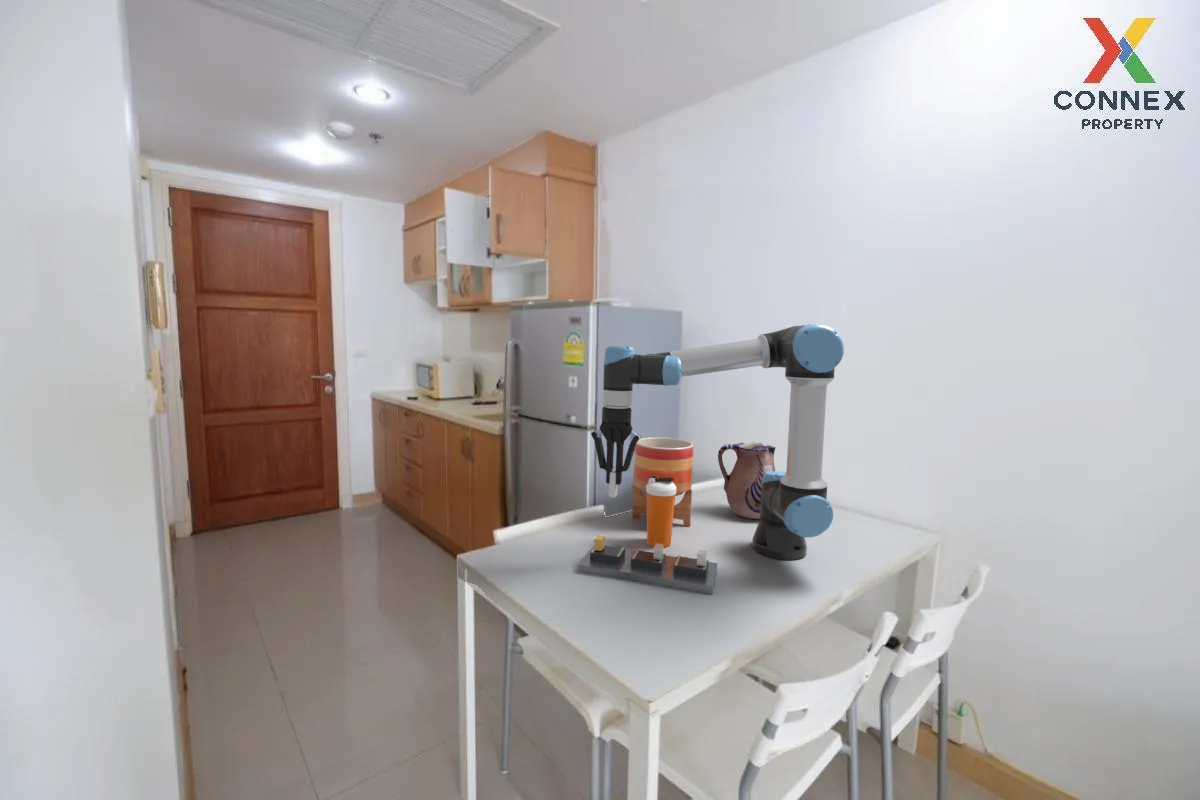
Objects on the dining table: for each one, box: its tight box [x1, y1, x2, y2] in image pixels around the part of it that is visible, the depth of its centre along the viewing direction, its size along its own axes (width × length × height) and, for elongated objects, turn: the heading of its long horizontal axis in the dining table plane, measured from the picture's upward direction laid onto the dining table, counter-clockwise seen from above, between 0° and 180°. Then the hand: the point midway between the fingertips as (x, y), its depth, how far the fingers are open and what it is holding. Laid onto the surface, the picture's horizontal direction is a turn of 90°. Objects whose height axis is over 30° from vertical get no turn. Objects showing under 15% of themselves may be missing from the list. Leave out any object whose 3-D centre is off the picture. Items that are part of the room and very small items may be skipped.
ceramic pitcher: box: [717, 442, 776, 520], centre depth 180 cm, size 18×21×25 cm
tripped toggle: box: [593, 534, 606, 551], centre depth 137 cm, size 2×3×3 cm, turn 163°
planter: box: [631, 436, 694, 528], centre depth 171 cm, size 20×20×27 cm
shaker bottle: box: [645, 475, 676, 548], centre depth 152 cm, size 9×9×20 cm
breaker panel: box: [576, 543, 718, 595], centre depth 134 cm, size 34×14×7 cm, turn 73°
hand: (613, 495), depth 135 cm, fingers closed
